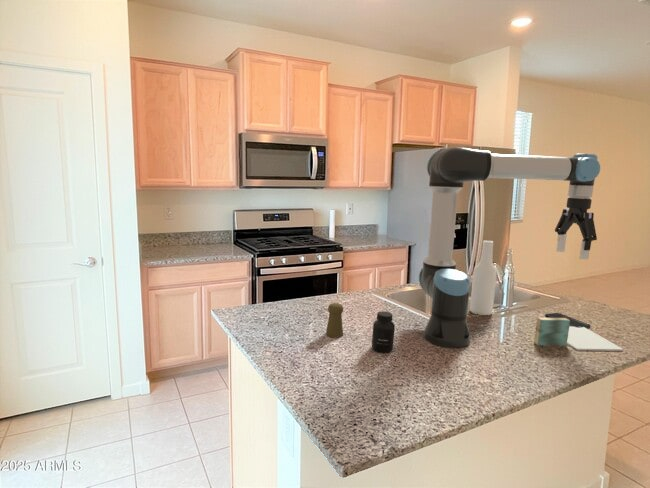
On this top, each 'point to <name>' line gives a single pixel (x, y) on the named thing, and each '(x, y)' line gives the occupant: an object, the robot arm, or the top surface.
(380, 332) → the supplement bottle
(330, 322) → the cork
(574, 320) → the phone
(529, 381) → the top surface
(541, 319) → the tile
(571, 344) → the mat
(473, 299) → the alcohol
